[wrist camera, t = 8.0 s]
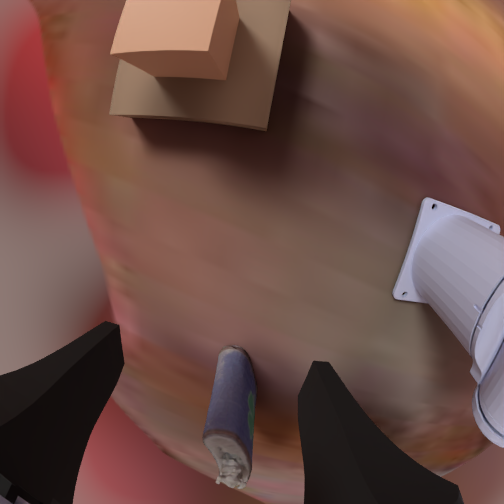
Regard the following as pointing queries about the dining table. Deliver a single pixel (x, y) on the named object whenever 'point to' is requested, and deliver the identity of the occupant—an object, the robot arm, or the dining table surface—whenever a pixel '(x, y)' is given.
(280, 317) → the dining table surface
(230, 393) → the flask
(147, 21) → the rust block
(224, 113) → the base
